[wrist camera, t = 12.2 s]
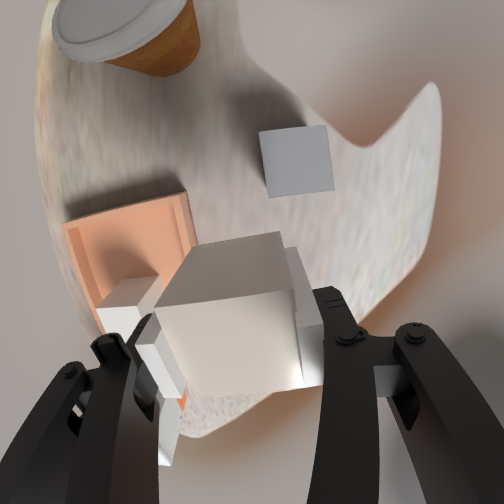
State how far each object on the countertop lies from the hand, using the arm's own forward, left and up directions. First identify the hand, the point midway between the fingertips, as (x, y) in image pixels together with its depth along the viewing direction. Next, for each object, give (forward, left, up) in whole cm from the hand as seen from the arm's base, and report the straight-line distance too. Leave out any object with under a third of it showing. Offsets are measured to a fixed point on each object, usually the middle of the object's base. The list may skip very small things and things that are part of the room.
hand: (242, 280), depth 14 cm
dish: (+3, -12, -11) cm, 16 cm away
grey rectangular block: (-5, +4, -11) cm, 13 cm away
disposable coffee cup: (-18, -5, -11) cm, 22 cm away
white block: (+6, -12, -11) cm, 17 cm away
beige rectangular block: (0, 0, 0) cm, 0 cm away
